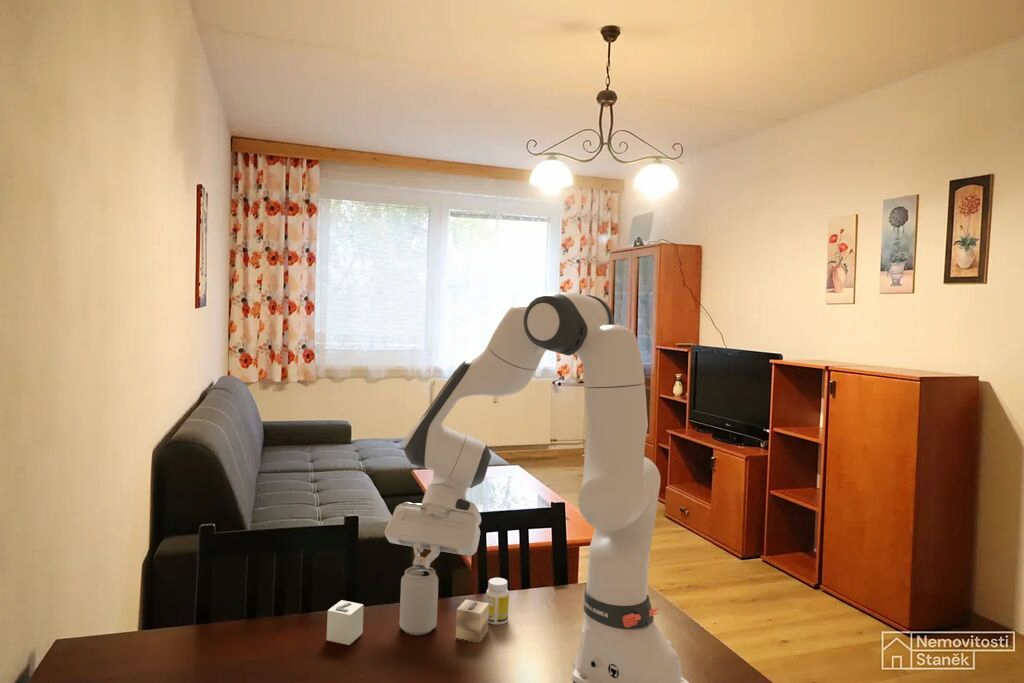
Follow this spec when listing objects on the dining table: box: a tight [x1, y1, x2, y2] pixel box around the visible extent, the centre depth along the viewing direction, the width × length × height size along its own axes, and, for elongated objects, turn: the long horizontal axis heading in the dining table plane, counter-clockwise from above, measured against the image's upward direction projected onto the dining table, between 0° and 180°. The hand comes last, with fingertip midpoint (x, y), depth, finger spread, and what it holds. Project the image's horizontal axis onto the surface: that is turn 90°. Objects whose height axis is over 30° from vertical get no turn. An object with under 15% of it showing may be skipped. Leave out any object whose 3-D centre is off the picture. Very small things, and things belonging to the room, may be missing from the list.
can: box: [399, 566, 439, 636], centre depth 138 cm, size 8×8×12 cm
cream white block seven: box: [326, 599, 365, 646], centre depth 133 cm, size 5×5×6 cm
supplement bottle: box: [485, 577, 510, 626], centre depth 143 cm, size 5×5×8 cm
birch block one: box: [455, 598, 489, 643], centre depth 136 cm, size 5×5×6 cm
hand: (420, 567), depth 138 cm, fingers closed, pressing on can
